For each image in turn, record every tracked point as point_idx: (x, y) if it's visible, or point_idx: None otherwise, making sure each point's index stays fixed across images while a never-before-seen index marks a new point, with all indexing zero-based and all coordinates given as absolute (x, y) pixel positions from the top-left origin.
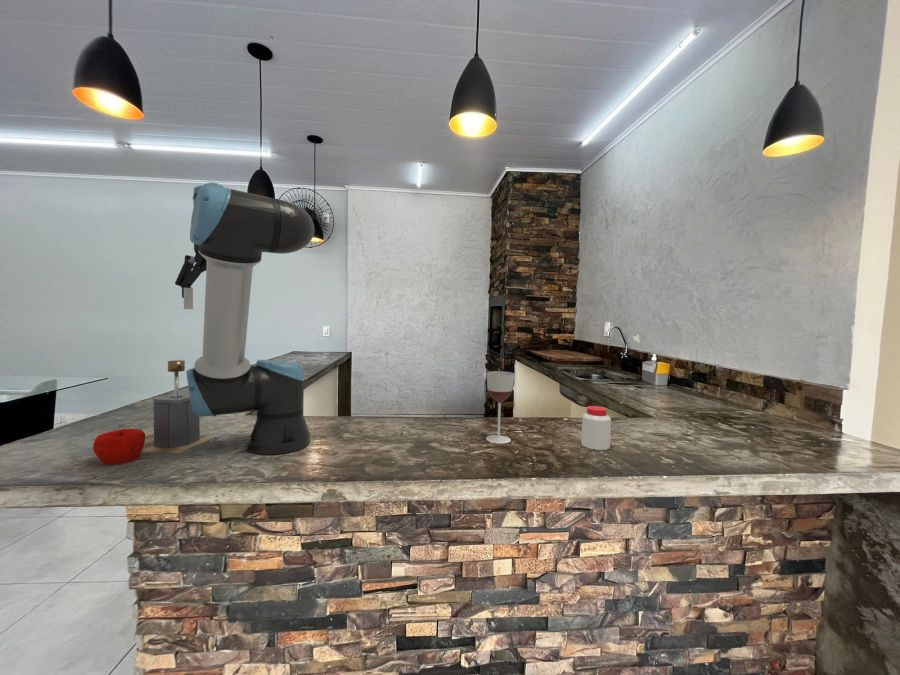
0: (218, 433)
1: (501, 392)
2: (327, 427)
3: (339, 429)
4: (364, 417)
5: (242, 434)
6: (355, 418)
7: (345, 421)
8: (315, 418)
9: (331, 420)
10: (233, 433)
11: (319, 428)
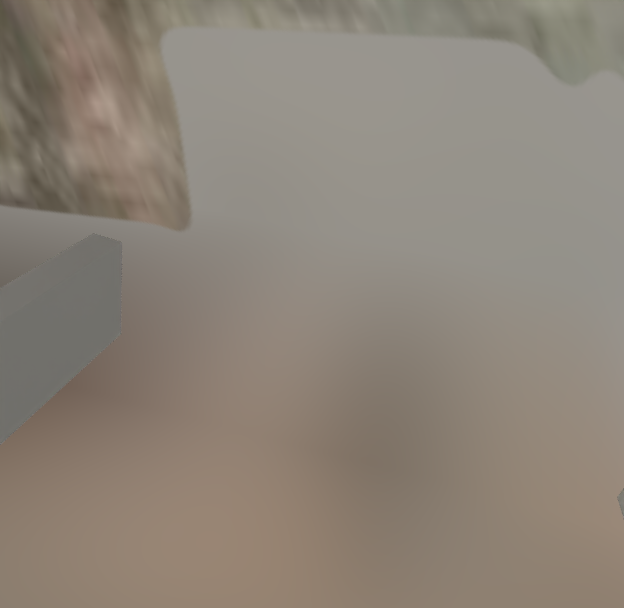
0: (376, 25)
1: None
2: (58, 86)
3: (15, 59)
4: (3, 199)
5: (287, 8)
6: (22, 189)
7: (36, 156)
8: (135, 201)
9: (80, 172)
10: (323, 23)
11: (76, 75)
